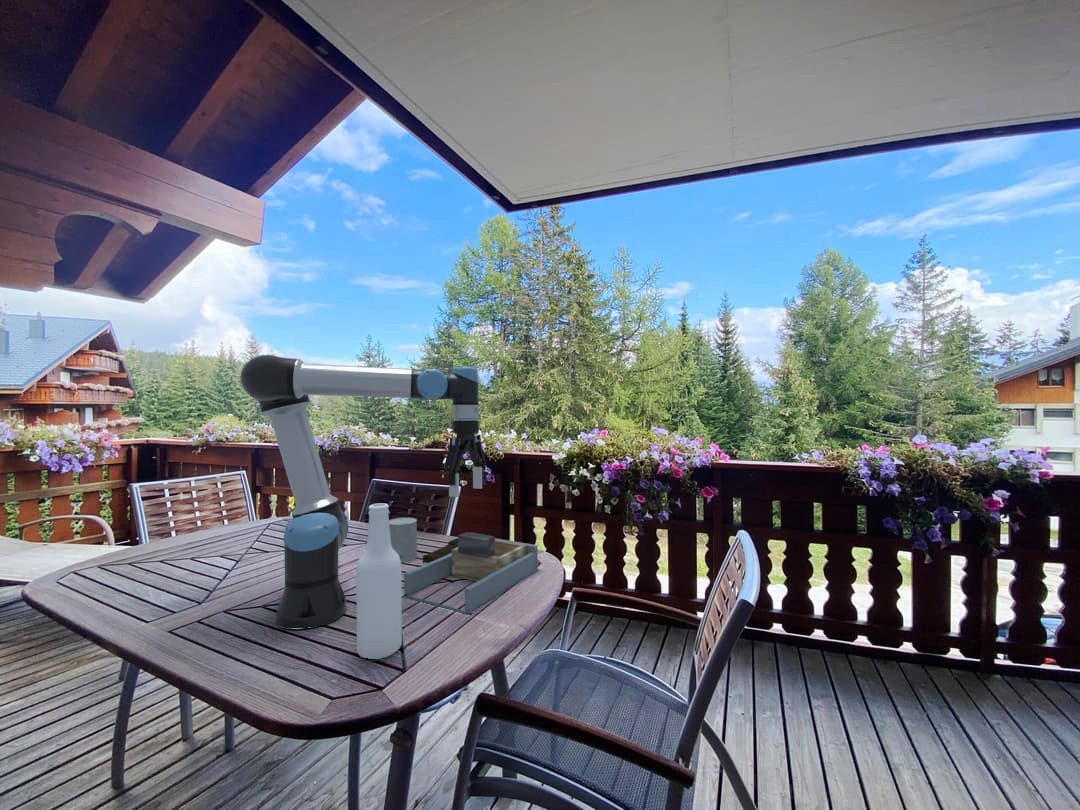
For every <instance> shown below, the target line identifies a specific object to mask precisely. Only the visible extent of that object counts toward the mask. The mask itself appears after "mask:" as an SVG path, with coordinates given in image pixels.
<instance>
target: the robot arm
mask: <svg viewBox="0 0 1080 810" xmlns="http://www.w3.org/2000/svg"><path fill="white" fill-rule="evenodd" d="M478 374H479V373H478V369H477V368H476V367H473V366H454V367H452V370H451V372H450V373H443V372H442V371H440V370H439V369H436V368H428V369H416V368H414V369H413V368H401V367H399V368H398V367H379V366H362V365H361V366H358V365H343V364H341V365H339V364H323V363H322V364H319V363H306V362H304V361H303V360H302V359H300V358H289V357H283V356H276V355H273V354H262V355H258V356H255V357H253V358H251V359H250V360H248V361H247V362H246V363H245V364H244V366H243V367H242V369H241V373H240V383H241V386H242V388H243V390H244V391H245V392H246V393H247V394H248V395H249V396H250V397H252V398H253V399H255V400H257V401H258V404H259V408H260V411H261V414H262V415H264V416H265V417H267V418H269V419H270V421H271V425H272V428H273V432H274V435H275V439H276V442H277V445H278V448H279V453H280V455H281V458H282V463H283V465H284V470H285V473H286V476H287V479H288V483H289V486H290V489H291V492H292V497H293V499H294V503H295V507H294V508H293V510H292V511H291V516H292V519H291V520H290V521H288V522H287V523H286V525H285V528H284V534H283V542H284V550H283V551H284V588H283V593H282V595H281V598H280V600H279V603H278V608H277V611H276V614H275V615H276V616H275V617H276V618H275V619H276V622H275V623H276V625H277V624H278V625H279V626H281V627H284V628H308V627H315V626H319V627H321V626H320V625H322V626H325V625H327V624H331V623H332V622H334V621H336V620H338V619H340V618H341V617H342V616H344V614H346V612H347V598H346V596H345V593H344V590H343V588H342V586H341V582H340V580H339V579H340V578H339V550H340V548H341V546H342V544H343V543H344V542H345V540H346V539H347V536H348V533H349V521H348V518H347V515H346V514H345V513H344V512H343V511H342V509H341V505H340V501H339V498H338V497H336V496H333V495H332V494H331V492H330V488H329V486H328V481H327V479H326V475H325V471H324V468H323V464H322V461H321V459H320V458H321V457H320V453H319V451H318V447H317V444H316V440H315V437H314V434H313V430H312V426H311V423H310V420H309V417H308V416H309V415H308V413H307V409H308V408H309V406H310V404H311V401H310V398H309V396H335V397H336V396H337V397H339V396H341V397H343V396H344V397H365V398H366V397H369V398H373V397H375V398H397V399H398V398H399V399H400V398H401V399H403V398H404V399H411V400H416V401H417V400H418V401H424V400H425V401H427V400H430V401H432V400H435V401H436V400H452V419H453V421H452V433H453V434H456V437H450V438H449V446H448V451H447V454H446V458H445V461H444V467H443V472H444V474H448V496H449V497H451V498H459V497H460V481H459V480H460V478H459V477H460V475H459V473H458V471H459V467H460V465H461V462H462V460H463V458H464V456H465V454H467V453H468V454H469V456H470V459H471V461H472V463H473V465H474V466H473V467H472V489H476V490H477V489H480V490H481V489H483V467H485V466H486V463H487V460H486V457H485V452H484V449H483V445H482V437H481V435H480V434H478V433H479V429H480V427H479V424H480V422H479V420H477V419H479V412H480V409H479V375H478ZM324 624H325V625H324ZM278 625H277V626H278ZM279 626H278V627H279ZM281 627H280V628H281ZM284 628H283V629H284ZM315 628H316V627H315Z"/></svg>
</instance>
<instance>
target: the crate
mask: <svg viewBox="0 0 1080 810" xmlns="http://www.w3.org/2000/svg"><path fill="white" fill-rule="evenodd" d="M457 538H458V547H457V548H455V549H452V574H451V575H452V576H453V577H458V578H460V579H461V578H462V579H466V580H470V581H476V582H477V581H479V580H481V579H483V578H485V577H486V576H488V575H490V574H492V573H494V572H496V571H497V570H499V569H501V568H503V567H505V566H507V565H508V564H510V563H512V562H514V561H516V560H518V559H519V558H521V557H523V556H525V555H527V545H523V544H517V543H511V542H505V541H499V540H495V538H496V536H493V535H489V534H482V533H478V532H477V533H476V532H470V531H466V532H463V533H460V534H458V535H457Z"/></svg>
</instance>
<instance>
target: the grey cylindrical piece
mask: <svg viewBox="0 0 1080 810" xmlns="http://www.w3.org/2000/svg"><path fill="white" fill-rule="evenodd" d="M417 523H418V520H417V518H415V517H396V518H392V519H389V528H390V539H391V545H392V548H393V549H394V550H395V551H396V552H397V554H398V555H399V557H400V561H401V562H402V563H408V562H411V560H412V561H414V560H416V559H417V558H418V545H417V544H418V534H417V530H418V529H417V527H418V526H417ZM415 558H416V559H415Z"/></svg>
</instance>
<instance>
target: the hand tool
mask: <svg viewBox="0 0 1080 810" xmlns="http://www.w3.org/2000/svg"><path fill="white" fill-rule="evenodd" d="M447 543H448V544H446V545H444V546H442V547H440V548H438V549H436V550H434V551H432V552H430V553H428V554H423V557H422V564H427V563H430V562H432V561H434V560H437V559H439V558H442V557H444V556H446V555H449V554H451V553H452V549H455V548H457V547H458V537H457V538H454V539H451V540H449V541H448V542H447Z"/></svg>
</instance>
